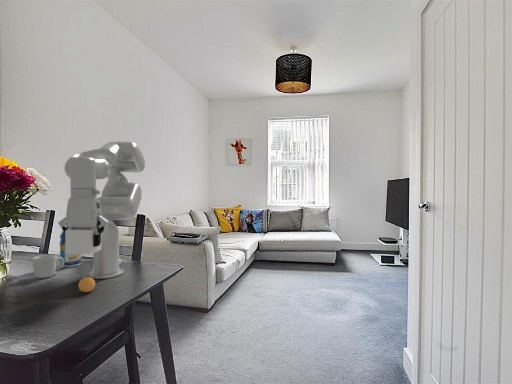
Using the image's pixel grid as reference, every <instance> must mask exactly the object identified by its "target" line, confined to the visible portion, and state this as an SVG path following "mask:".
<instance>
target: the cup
mask: <svg viewBox="0 0 512 384" xmlns="http://www.w3.org/2000/svg"><path fill="white" fill-rule="evenodd" d="M59 260H61V261H62V263H61V265H60V264H59V266H58V264H57V263H58V261H59ZM31 261H32V268H33V273H34V277H35V278H36V279H47V278H51V277H53V276H54V275H55V273H56V271H57V270H60V269H62V268H64V267H63V265H64V259H63V258H62V257H60V256H57V254H42V255H36V256H33V257H32V258H31Z"/></svg>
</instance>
